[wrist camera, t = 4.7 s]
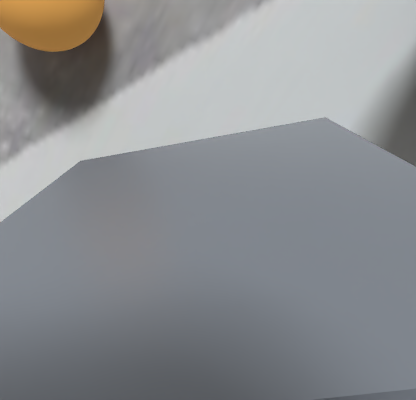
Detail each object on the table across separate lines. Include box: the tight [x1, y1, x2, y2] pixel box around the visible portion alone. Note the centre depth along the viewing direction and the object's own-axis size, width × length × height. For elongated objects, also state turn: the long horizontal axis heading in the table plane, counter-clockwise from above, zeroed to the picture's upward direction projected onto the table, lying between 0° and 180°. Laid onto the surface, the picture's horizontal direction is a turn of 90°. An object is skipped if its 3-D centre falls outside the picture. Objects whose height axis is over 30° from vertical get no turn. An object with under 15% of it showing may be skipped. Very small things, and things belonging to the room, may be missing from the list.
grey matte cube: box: [0, 118, 416, 400], centre depth 8 cm, size 8×8×9 cm
